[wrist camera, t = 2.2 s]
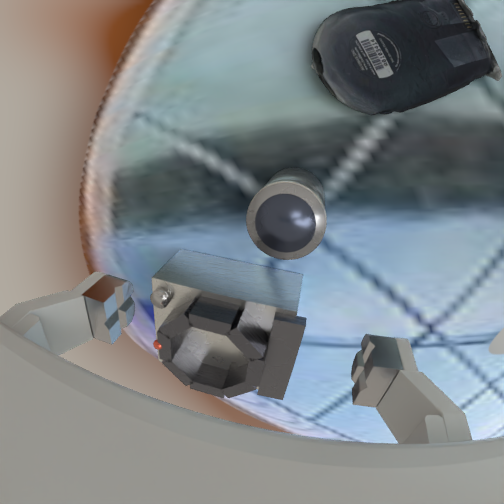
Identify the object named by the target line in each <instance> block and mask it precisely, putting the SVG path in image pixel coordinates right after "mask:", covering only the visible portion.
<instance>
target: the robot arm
mask: <svg viewBox="0 0 504 504" xmlns="http://www.w3.org/2000/svg"><path fill="white" fill-rule="evenodd" d="M132 293H133V287H132V283H131V282H130V281H127V280H123V279H120V278H117V277H114V276H111V275H107V274H104V273H101V272H94V273H93V274H91V275H90V276H89V277H87V278H86V279H85V280H84V281H83V282H81V283H80V284H79V285H77V287H75V288H74V289H72V290H71V291H68V290H66V291H63V292H59V293H55V294H51V295H48V296H44V297H40V298H36V299H32V300H29V301H25V302H21V303H18V304H15V305H14V306H13V307H12V308H10V309H9V310H8V311H7V312H6V313H4V314H3V315H2V316H1V317H0V504H504V436H502V437H495V438H488V439H480V440H472V437H471V433H470V430H469V426H468V423H467V419H466V416H465V413H464V412H463V411H462V410H461V409H460V408H459V407H458V406H457V405H455V404H454V403H453V402H452V401H451V400H450V399H449V398H448V397H447V396H446V395H445V394H444V393H443V392H442V391H441V390H440V389H439V388H438V387H437V386H436V385H435V384H434V383H433V382H432V381H431V380H430V379H429V378H428V377H427V376H426V375H424V374H423V373H422V372H418V369H417V365H416V362H415V359H414V355H413V352H412V349H411V346H410V343H409V340H408V339H404V338H395V337H394V338H391V337H384V336H377V335H371V334H366V335H365V336H364V338H363V340H362V342H361V346H362V350H361V351H359V352H358V353H357V354H356V356H355V359H354V361H353V365H352V372H351V377H352V380H353V382H354V383H355V385H354V387H353V388H352V398H353V405H361V406H368V407H377V408H376V409H377V411H378V412H379V414H380V415H381V417H382V418H383V420H384V421H385V423H386V425H387V426H388V428H389V429H390V431H391V432H392V434H393V435H394V437H395V438H396V440H397V441H398V443H399V444H388V443H366V442H352V441H341V440H331V439H323V438H315V437H308V436H301V435H295V434H289V433H283V432H277V431H272V430H267V429H262V428H257V427H252V426H248V425H243V424H239V423H235V422H231V421H227V420H223V419H219V418H216V417H212V416H209V415H205V414H202V413H198V412H194V411H191V410H188V409H185V408H182V407H179V406H176V405H173V404H170V403H167V402H164V401H161V400H158V399H155V398H153V397H150V396H147V395H145V394H142V393H139V392H137V391H134V390H131V389H129V388H127V387H124V386H122V385H119V384H117V383H114V382H112V381H110V380H108V379H105V378H103V377H101V376H99V375H96V374H94V373H92V372H90V371H88V370H86V369H84V368H82V367H80V366H78V365H75V364H73V363H71V362H69V361H67V360H65V359H64V358H62V357H60V356H58V355H60V354H63V353H65V352H67V351H69V350H71V349H73V348H75V347H77V346H79V345H81V344H83V343H86V342H88V341H90V340H92V339H93V338H95V339H98V340H101V341H104V342H106V343H109V344H113V343H114V342H115V341H116V339H117V338H118V337H119V336H120V335H121V328H124V327H127V326H128V325H129V324H130V323H131V321H132V319H133V316H134V312H135V304H134V301H133V300H132V298H131V297H130V296H131V294H132Z"/></svg>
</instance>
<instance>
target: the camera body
mask: <svg viewBox="0 0 504 504" xmlns="http://www.w3.org/2000/svg"><path fill="white" fill-rule="evenodd" d="M302 278H303V274H298V273H294V272H289V271H284V270H279V269H274V268H269V267H265V266H260V265H255V264H250V263H245V262H241V261H236V260H231V259H227V258H222V257H217V256H212V255H208V254H203V253H198V252H194V251H189V250H185V249H180V250H179V251H178V252H177V253H176V254H175V255H174V256H173V257H172V258H171V259H170V260H169V261H168V262H167V263H166V264H165V265H164V266H163V267H162V268H161V269H160V270H159V271H158V272H157V273H156V274H155V275H154V276H153V277H152V290H153V293H152V294H151V296H150V299H151V302H152V303H153V305H154V318H155V329H156V339H157V340H155V341H154V343H153V345H154V347H155V348H156V349H158V358H159V361H160V362H162V363H163V364H164V365H165V366H166V367H167V368H168V369H169V370H170V371H171V372H172V373H173V374H174V375H175V376H176V377H177V378H178V379H179V380H180V381H181V382H183V384H184V385H186V386H187V385H190V388H191V389H194V390H197V391H201V392H204V393H207V394H211V395H214V396H218V397H221V398H224V396H226V397H227V398H231V397H234V396H237V395H241V394H244V393H247V392H250V391H253V390H256V389H258V394H257V395H262V396H266V397H271V398H275V399H280V400H283V397H284V394H285V391H286V388H287V385H288V382H289V379H290V376H291V373H292V370H293V366H294V363H295V360H296V357H297V353H298V350H299V347H300V343H301V340H302V337H303V333H304V330H305V326H306V318H304V317H299V316H296V315H297V311H298V304H299V298H300V291H301V284H302Z"/></svg>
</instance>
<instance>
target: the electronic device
mask: <svg viewBox="0 0 504 504" xmlns="http://www.w3.org/2000/svg"><path fill="white" fill-rule="evenodd" d="M472 16H473V13H472V11H471V10H470V9H469V7H468V6H467V5H466V4H465V2H464V0H397V1H392V2H389V3H384V4H377V5H374V6H365V7H354V8H348V9H344V10H341V11H339V12H336V13H334V14H332V15H330V16H329V17H328V18H326V19H325V20H324V22H323V23H322V24H321V25H320V27H319V29H318V31H317V32H316V35H315V37H314V41H313V46H312V59H313V63H312V64H311V67H312V69H313V70H315V71H316V73H317V74H318V76H319V78H320V79H321V81H322V82H323V84H324V85H325V86H326V88H327V89H328V90H329V92H330V93H331V94H332V95H333V96H334V97H335V98H336V99H338V100H339V101H340V102H342V103H344V104H345V105H347V106H349V107H351V108H353V109H355V110H357V111H360V112H362V113H366V114H370V115H375V114H377V113H380V114H389V113H392V112H393V111H395V112H404V111H406V110H409V109H412V108H415V107H418V106H421V105H423V104H426V103H429V102H431V101H434V100H436V99H439V98H441V97H444V96H446V95H448V94H450V93H452V92H454V91H457V90H458V89H460V88H463V87H465V86H466V85H469V83H470V82H472V81H473V80H475V79H477V78H481V77H482V76H484V75H486V76H489V77H491V78H493V79H495V80H497V81H499V80H500V78H501V77H502V74H501V71H500V68H499V66H498V64H497V62H496V59H495V57H494V55H493V53H492V51H491V49H490V47H489V45H488V43H487V41H486V40H487V39H486V36H485V34H484V33H483V31H482V28H481V26H480V23H479V22H478V21H477V20H476V21H475V20H474V18H473V17H472ZM321 59H322V62H321ZM322 63H323V64H322Z"/></svg>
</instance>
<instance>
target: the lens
mask: <svg viewBox="0 0 504 504" xmlns="http://www.w3.org/2000/svg"><path fill="white" fill-rule="evenodd" d="M246 223H247V229H248V233H249V235H250V237H251V239H252V241H253V242H254V244H255V245H256V246H257V247H258V248H259V249H260V250H261V251H263V252H264V253H266V254H267V255H269V256H272V257H274V258H278V259H283V260H292V259H298V258H301V257H304V256H306V255H308V254H309V253H311V252H312V251H313V250H314V249H315V248H316V247H317V246H318V245H319V244H320V242H321V240H322V238H323V236H324V233H325V230H326V210H325V194H324V189H323V186H322V184H321V182H320V181H319V179H318V178H317V177H316V176H315V175H314V174H313V173H311V172H310V171H308V170H305V169H302V168H297V167H291V168H286V169H283V170H281V171H279V172H277V173H276V174H275V175H274V176H273V177H272V178H271V179H270V180H269V181H268V182H267V184H266V185H265V186H264V187H263V188H262V189H261V190H260V191H259V192H258V193H257V194H256V195H255V196H254V198H253V199H252V201H251V203H250V205H249V208H248V211H247V216H246Z"/></svg>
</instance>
